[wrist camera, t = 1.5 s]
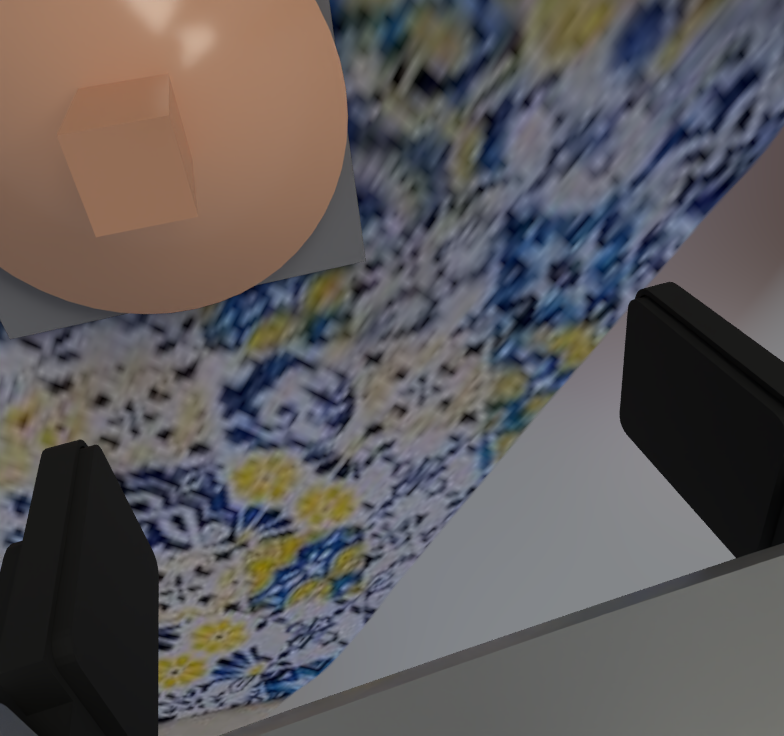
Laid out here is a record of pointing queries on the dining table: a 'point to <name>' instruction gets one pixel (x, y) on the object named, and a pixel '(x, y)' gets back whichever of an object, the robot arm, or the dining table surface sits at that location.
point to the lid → (164, 145)
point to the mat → (320, 252)
